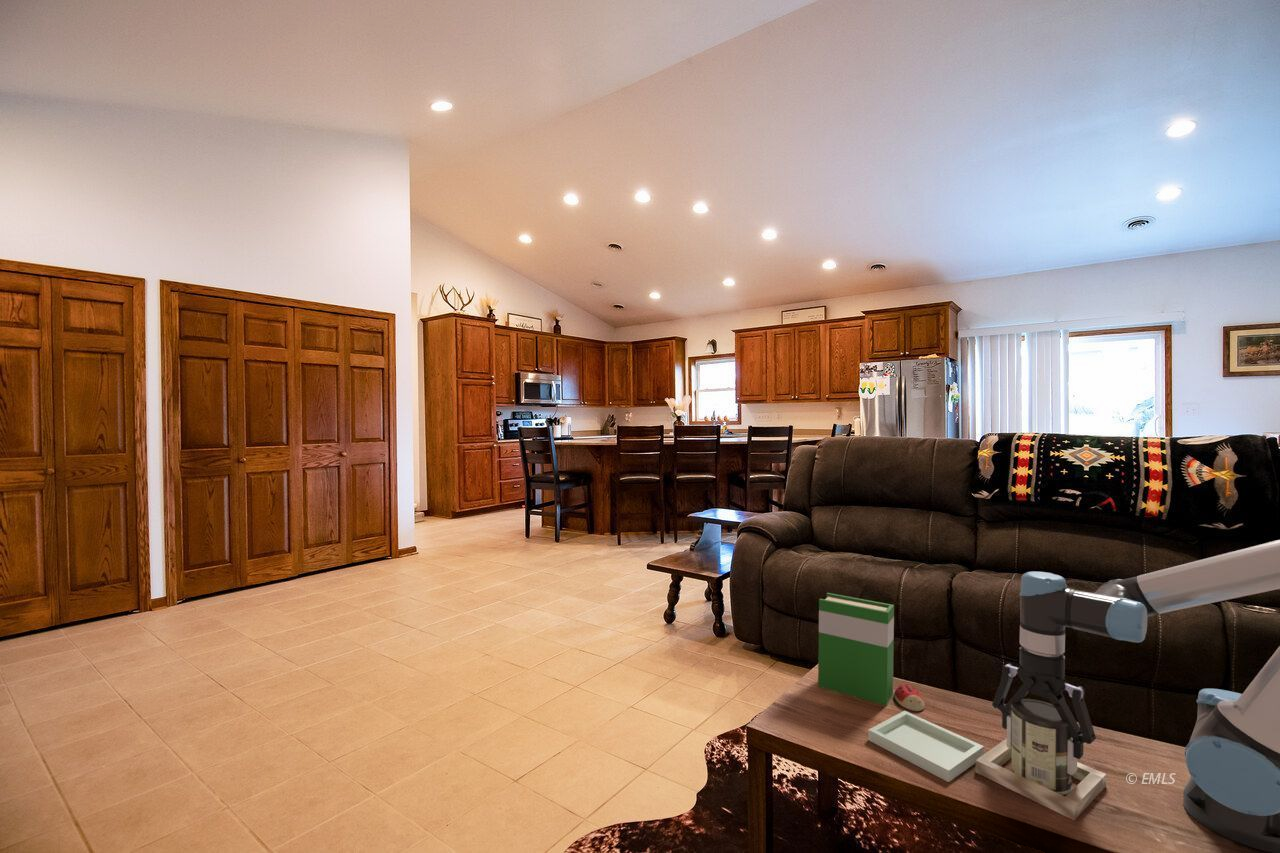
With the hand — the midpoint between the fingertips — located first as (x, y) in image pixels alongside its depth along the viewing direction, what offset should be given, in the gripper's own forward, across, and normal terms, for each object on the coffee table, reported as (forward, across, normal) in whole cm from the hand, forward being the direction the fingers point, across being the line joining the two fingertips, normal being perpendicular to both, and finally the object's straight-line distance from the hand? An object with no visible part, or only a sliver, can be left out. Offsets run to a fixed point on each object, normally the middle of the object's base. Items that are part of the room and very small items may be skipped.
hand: (1040, 758), depth 114 cm
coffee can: (+4, 0, 0) cm, 4 cm away
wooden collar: (+4, 0, 0) cm, 4 cm away
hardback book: (+4, +44, -2) cm, 44 cm away
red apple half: (+5, +32, -8) cm, 34 cm away
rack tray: (+4, +19, +9) cm, 22 cm away
